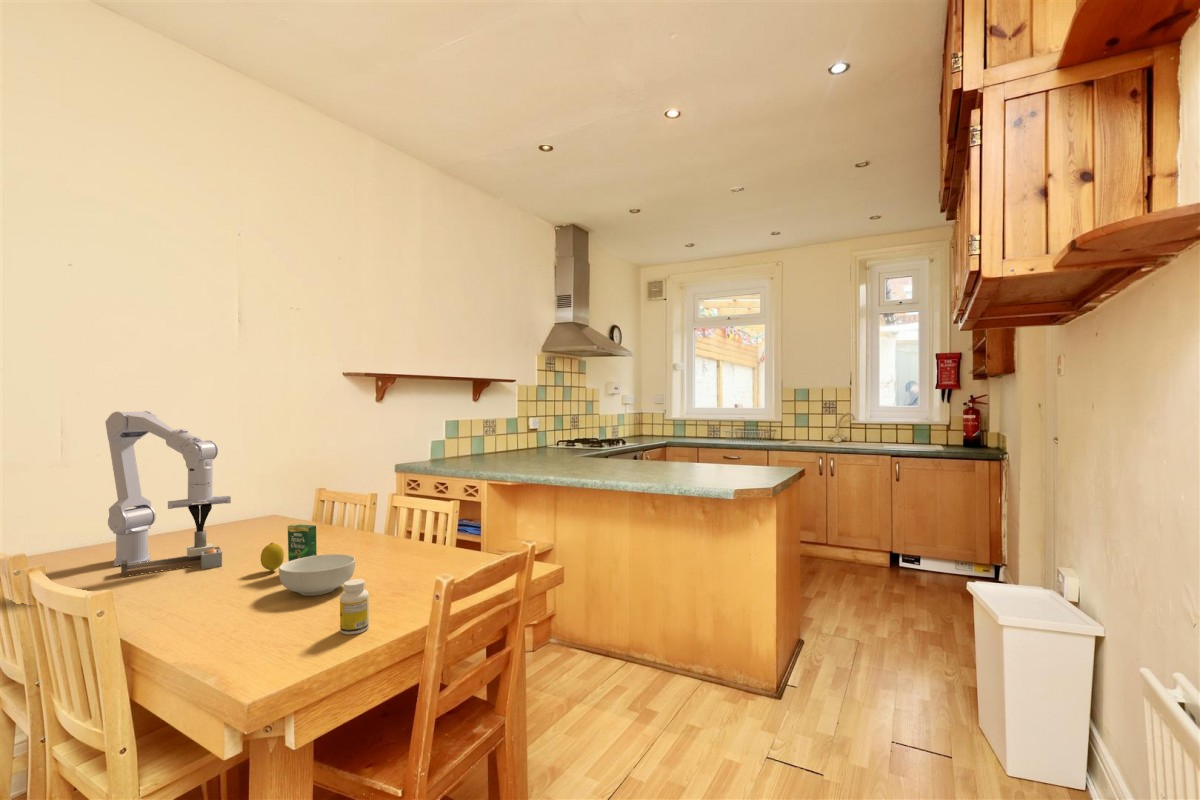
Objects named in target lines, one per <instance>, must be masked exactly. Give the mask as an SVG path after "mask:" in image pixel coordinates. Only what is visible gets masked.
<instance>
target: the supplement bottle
mask: <svg viewBox="0 0 1200 800" xmlns="http://www.w3.org/2000/svg"><path fill="white" fill-rule="evenodd" d="M365 588H366V581H365V579H364V578H363V579H362V578H354V579H349V580H348V581H346V582H344V584H343V591H344V592H343V593H342V594H340V597H339V619H340V621H339V622H340V623H339V626H340V627H339V628H340V629H339V630H340V633H342V635H346V636H347V635H348V636H350V635H357V634H361V633H364V632H365V631H367V630H368V629H369V627H370V594H369V591H368V590H366V589H365Z"/></svg>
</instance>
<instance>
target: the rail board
mask: <svg viewBox="0 0 1200 800" xmlns="http://www.w3.org/2000/svg"><path fill="white" fill-rule="evenodd" d="M214 549H221V548H220V546H214ZM197 565H200V566H201V555H199V556H192V557H188V555H184V556H177V557H176V556H175V557H171V558H170V557H169V558H163V559H156V560H150V561H148V562H141V563H134V564H128V559H126V560H122V562H121V565H120V578H121V577H122V578H124V577H123V576H129V575H135V576H137V575H136V574H141V573H148V574H150V573H149V572H155V571H161V570H168V571H170V570H169V569H174V570H177V569H176V568H181V569H184V568H183V567H187V568H190V567H189V566H194V567H198V566H197ZM161 572H162V571H161ZM155 573H156V572H155ZM129 577H130V576H129Z"/></svg>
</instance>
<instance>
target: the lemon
mask: <svg viewBox="0 0 1200 800" xmlns="http://www.w3.org/2000/svg"><path fill="white" fill-rule="evenodd" d="M284 559H285V553H284V549H283V547H282V546H281V545H280V544H278V543H275V542H270V543H269V544H267V545H266V546H264V548H263V549H262V551H261V553H260V564H261V565H262V567H263V568H264V569H265V570H269V572H275V571H276V569H279V567H280V566H281V565H282V564H283V562H284Z"/></svg>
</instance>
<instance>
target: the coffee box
mask: <svg viewBox="0 0 1200 800" xmlns="http://www.w3.org/2000/svg"><path fill="white" fill-rule="evenodd" d="M287 549H288V550H287V551H288V552H287V553H288V554H287V555H288V561H287V562H289V561H292V560H295V559H299V558H304V557H309V556H316V555H317V553H318V550H317V525H315V524H313V525H312V524H300V523H295V524H290V525H288V526H287Z"/></svg>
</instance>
